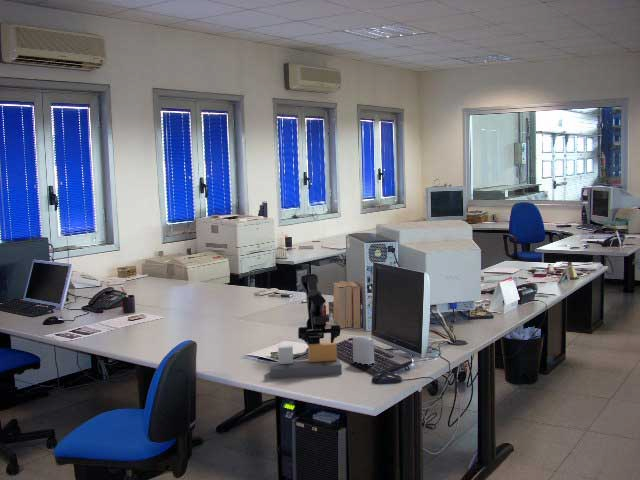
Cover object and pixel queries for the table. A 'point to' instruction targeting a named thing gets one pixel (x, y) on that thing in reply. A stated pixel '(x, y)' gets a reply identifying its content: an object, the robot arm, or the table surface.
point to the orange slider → (322, 352)
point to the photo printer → (363, 350)
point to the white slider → (285, 354)
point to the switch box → (305, 369)
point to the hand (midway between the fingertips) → (321, 348)
